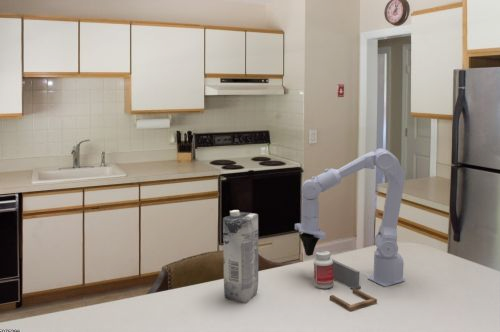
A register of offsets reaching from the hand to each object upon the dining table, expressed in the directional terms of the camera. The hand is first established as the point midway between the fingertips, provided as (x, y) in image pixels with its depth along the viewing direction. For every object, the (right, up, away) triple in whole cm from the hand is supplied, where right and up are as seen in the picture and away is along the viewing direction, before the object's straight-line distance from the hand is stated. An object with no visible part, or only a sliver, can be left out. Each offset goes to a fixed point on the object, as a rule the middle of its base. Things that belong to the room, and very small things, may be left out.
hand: (309, 254), depth 158 cm
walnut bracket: (+11, -11, -17) cm, 23 cm away
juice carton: (-23, -10, -13) cm, 28 cm away
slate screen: (+11, -9, -3) cm, 14 cm away
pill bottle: (+4, -9, -6) cm, 11 cm away
